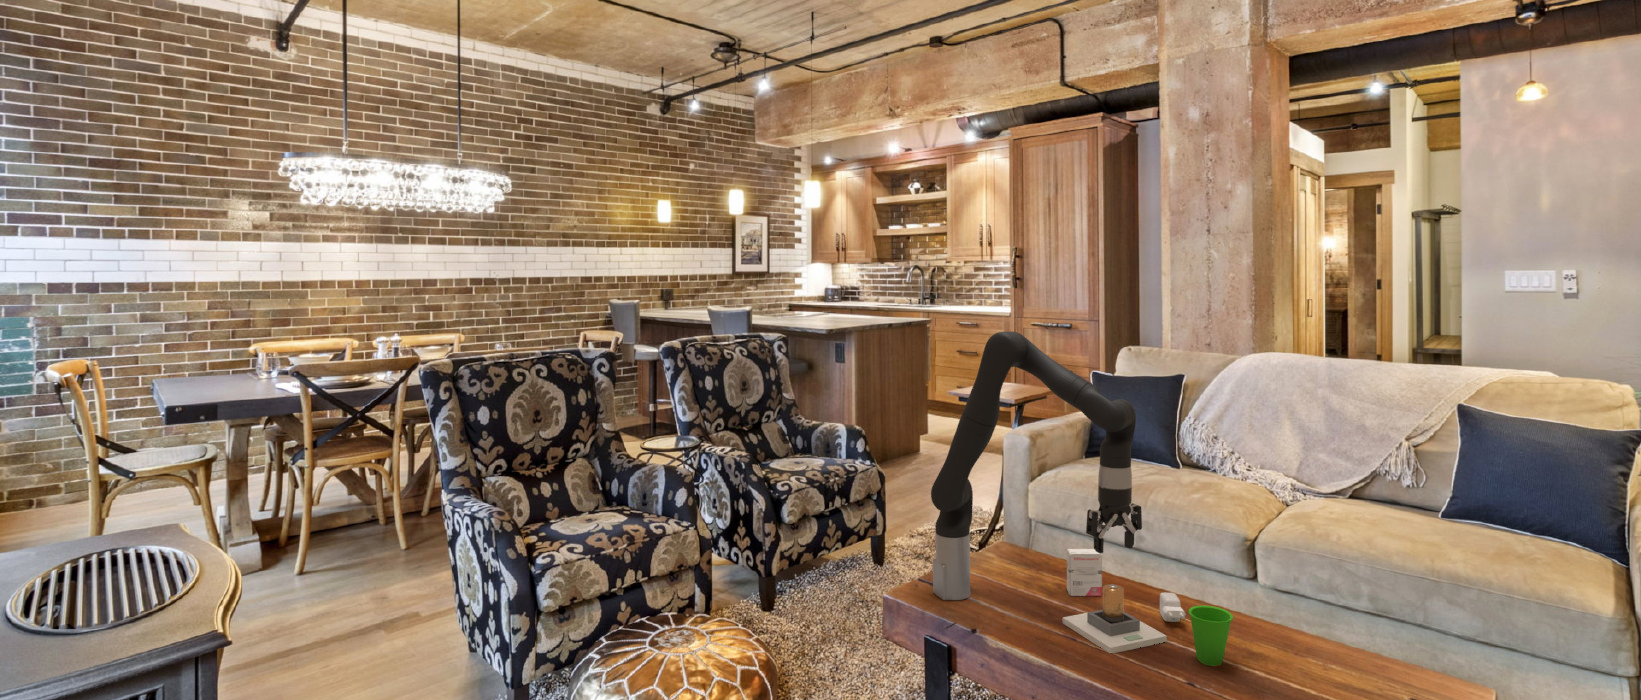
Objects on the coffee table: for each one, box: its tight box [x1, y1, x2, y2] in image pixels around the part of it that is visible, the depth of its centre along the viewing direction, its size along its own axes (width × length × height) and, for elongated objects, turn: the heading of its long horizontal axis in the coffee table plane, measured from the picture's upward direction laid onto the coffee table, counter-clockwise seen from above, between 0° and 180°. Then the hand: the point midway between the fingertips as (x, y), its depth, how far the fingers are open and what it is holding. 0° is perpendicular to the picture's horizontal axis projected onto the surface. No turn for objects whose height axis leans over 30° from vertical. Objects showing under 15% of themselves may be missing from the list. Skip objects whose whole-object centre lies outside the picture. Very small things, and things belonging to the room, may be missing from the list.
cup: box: [1188, 604, 1234, 667], centre depth 184 cm, size 9×9×11 cm
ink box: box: [1066, 548, 1103, 597], centre depth 224 cm, size 9×5×12 cm, turn 84°
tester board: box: [1062, 609, 1168, 654], centre depth 200 cm, size 16×18×4 cm
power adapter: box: [1159, 592, 1187, 623], centre depth 205 cm, size 11×5×6 cm, turn 171°
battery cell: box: [1102, 583, 1125, 624], centre depth 200 cm, size 5×5×10 cm
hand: (1113, 549), depth 198 cm, fingers open, 8 cm apart
